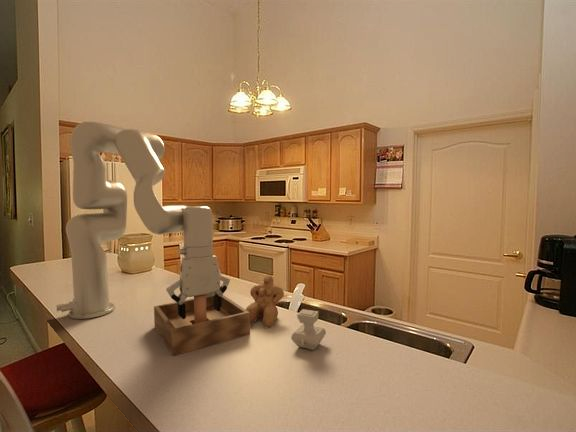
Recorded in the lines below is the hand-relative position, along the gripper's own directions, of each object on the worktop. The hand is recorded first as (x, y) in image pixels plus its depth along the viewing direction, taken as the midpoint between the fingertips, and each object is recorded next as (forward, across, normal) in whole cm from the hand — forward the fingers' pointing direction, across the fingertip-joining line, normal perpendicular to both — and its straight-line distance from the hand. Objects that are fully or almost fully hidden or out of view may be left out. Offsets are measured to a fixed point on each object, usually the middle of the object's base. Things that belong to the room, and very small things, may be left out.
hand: (200, 313), depth 88 cm
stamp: (+5, +19, -24) cm, 31 cm away
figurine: (+5, +18, -3) cm, 19 cm away
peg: (+5, 0, 0) cm, 5 cm away
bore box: (+5, 0, 0) cm, 5 cm away
